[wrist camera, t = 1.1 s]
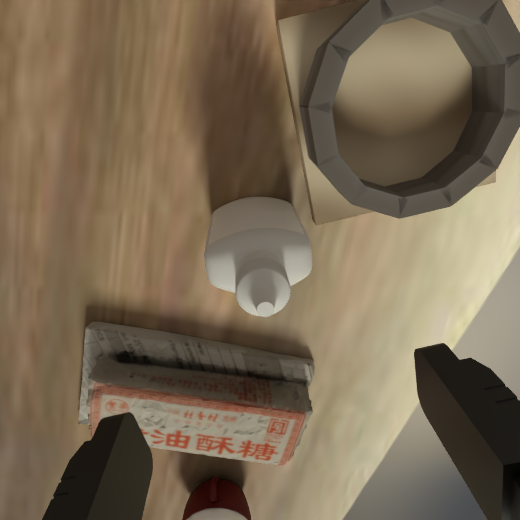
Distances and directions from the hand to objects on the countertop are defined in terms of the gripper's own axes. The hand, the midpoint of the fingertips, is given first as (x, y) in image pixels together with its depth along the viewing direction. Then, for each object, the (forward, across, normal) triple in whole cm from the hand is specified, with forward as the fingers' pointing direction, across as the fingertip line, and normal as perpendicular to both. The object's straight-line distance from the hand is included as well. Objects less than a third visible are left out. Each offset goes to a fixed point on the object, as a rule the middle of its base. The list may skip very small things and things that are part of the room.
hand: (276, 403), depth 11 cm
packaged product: (+18, +8, +13) cm, 23 cm away
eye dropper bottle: (+17, 0, 0) cm, 17 cm away
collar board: (+17, -10, -5) cm, 20 cm away
